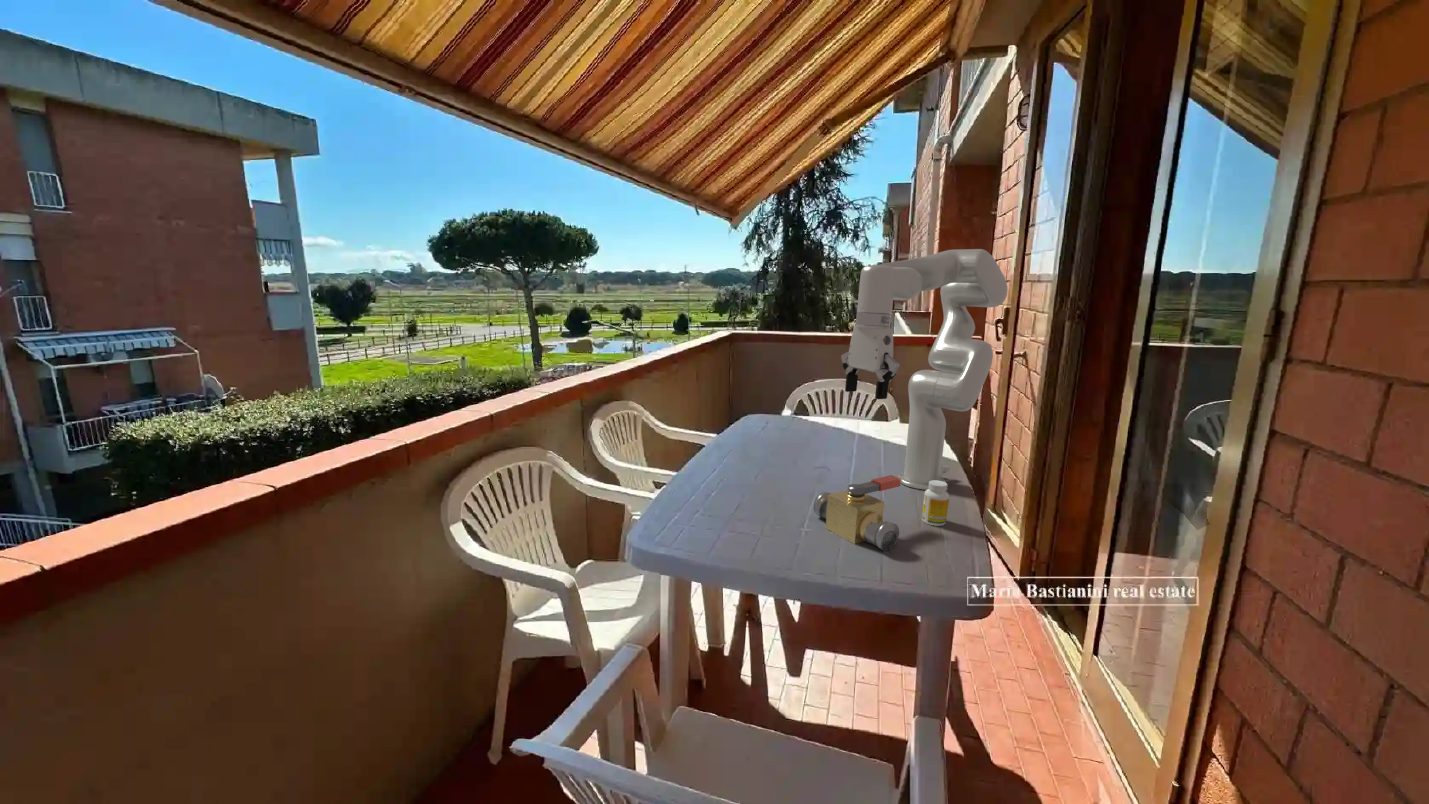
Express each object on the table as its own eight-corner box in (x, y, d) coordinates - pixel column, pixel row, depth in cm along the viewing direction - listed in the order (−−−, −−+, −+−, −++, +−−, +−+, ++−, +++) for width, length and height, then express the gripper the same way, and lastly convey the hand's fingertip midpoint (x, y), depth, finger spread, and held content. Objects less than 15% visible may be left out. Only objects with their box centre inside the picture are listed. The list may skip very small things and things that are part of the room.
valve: (809, 519, 132) (811, 483, 130) (835, 512, 136) (837, 477, 134) (874, 554, 115) (877, 514, 113) (901, 546, 119) (904, 507, 117)
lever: (856, 498, 121) (856, 490, 121) (844, 492, 124) (844, 484, 124) (901, 486, 129) (902, 479, 128) (889, 481, 132) (889, 474, 131)
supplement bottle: (916, 519, 133) (920, 480, 131) (933, 515, 135) (937, 477, 133) (934, 528, 128) (938, 488, 126) (951, 524, 131) (955, 485, 129)
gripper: (914, 324, 123) (905, 401, 126) (857, 319, 138) (851, 388, 141) (890, 323, 120) (881, 402, 123) (834, 318, 134) (828, 389, 137)
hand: (865, 395), depth 132 cm, fingers open, 9 cm apart
